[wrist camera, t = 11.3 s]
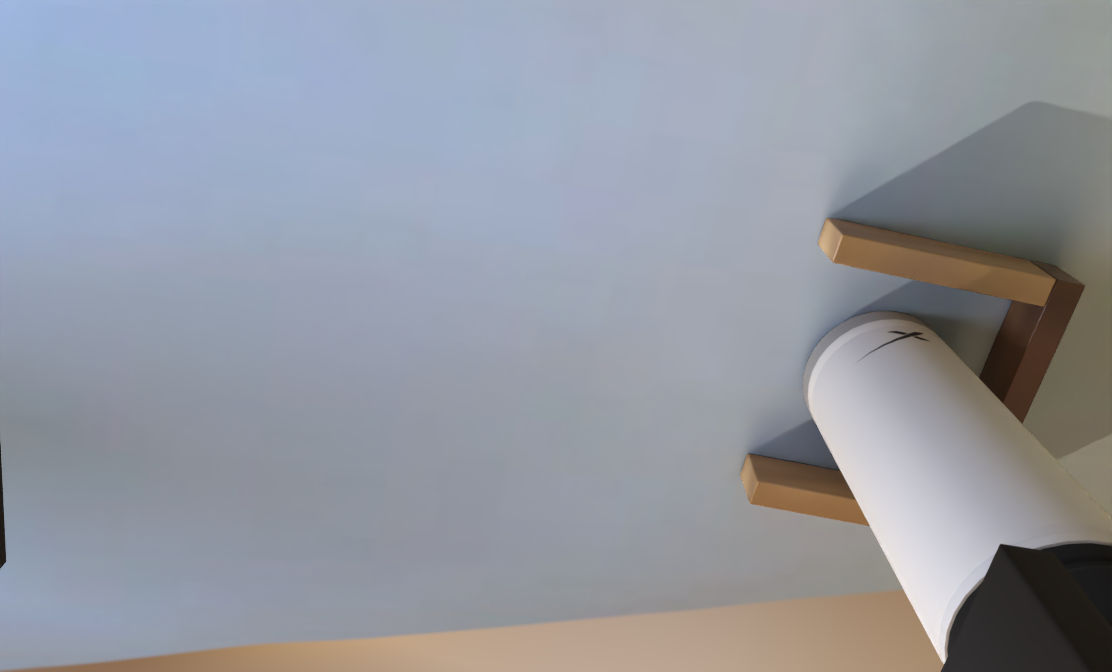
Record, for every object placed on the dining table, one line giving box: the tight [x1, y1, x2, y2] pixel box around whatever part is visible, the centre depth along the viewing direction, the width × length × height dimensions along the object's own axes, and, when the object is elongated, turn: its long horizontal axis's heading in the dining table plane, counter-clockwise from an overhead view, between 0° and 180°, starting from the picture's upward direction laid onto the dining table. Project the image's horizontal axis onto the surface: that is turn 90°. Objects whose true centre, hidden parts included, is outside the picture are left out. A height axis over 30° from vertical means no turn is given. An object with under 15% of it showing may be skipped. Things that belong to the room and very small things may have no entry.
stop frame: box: [740, 218, 1085, 526], centre depth 41 cm, size 12×10×2 cm
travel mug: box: [803, 311, 1112, 664], centre depth 32 cm, size 6×7×20 cm
